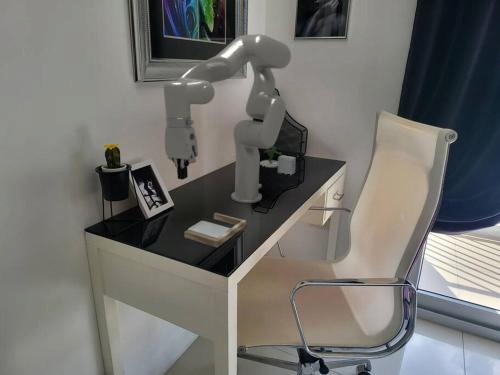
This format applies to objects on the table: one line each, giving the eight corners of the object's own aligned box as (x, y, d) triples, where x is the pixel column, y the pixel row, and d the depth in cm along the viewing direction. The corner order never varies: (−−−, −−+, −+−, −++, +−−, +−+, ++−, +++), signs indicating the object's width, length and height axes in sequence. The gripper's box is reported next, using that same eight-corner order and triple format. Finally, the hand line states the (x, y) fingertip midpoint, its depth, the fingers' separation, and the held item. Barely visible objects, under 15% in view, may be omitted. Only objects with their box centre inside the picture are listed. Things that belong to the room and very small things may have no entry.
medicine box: (294, 173, 176) (296, 157, 173) (291, 175, 172) (292, 159, 169) (281, 171, 180) (282, 154, 177) (277, 173, 176) (278, 156, 173)
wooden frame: (215, 217, 121) (215, 212, 121) (245, 226, 116) (246, 220, 115) (184, 237, 107) (184, 231, 106) (217, 247, 101) (217, 241, 101)
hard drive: (233, 228, 112) (202, 219, 117) (219, 238, 105) (187, 228, 110) (233, 233, 112) (202, 224, 118) (219, 243, 105) (187, 233, 111)
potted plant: (284, 164, 194) (286, 146, 190) (275, 168, 184) (276, 150, 180) (266, 160, 199) (266, 143, 196) (256, 165, 189) (256, 146, 186)
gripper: (205, 122, 106) (208, 178, 113) (168, 118, 113) (172, 171, 119) (190, 127, 100) (194, 185, 107) (152, 122, 107) (157, 177, 113)
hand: (182, 178), depth 113 cm, fingers closed
